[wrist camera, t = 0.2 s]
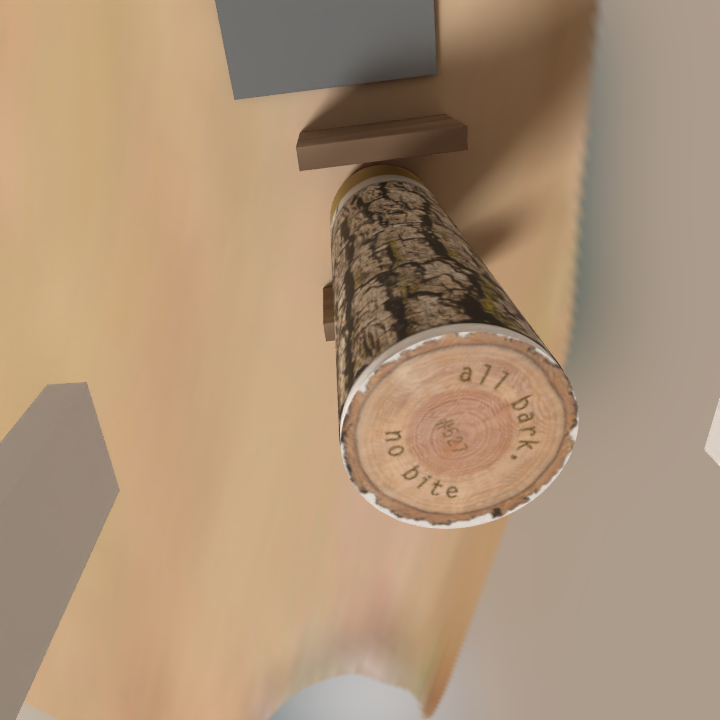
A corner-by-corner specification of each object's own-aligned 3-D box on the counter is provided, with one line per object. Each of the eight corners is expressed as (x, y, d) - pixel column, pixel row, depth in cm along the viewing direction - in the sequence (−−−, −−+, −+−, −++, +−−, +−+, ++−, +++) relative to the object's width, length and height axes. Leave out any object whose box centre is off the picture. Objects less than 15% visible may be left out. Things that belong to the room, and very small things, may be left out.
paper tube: (405, 141, 36) (531, 285, 14) (448, 235, 39) (608, 473, 17) (310, 194, 38) (294, 401, 16) (359, 282, 41) (403, 558, 19)
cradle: (299, 132, 36) (296, 147, 31) (445, 114, 36) (467, 125, 31) (325, 303, 41) (326, 341, 36) (452, 287, 41) (471, 323, 36)
